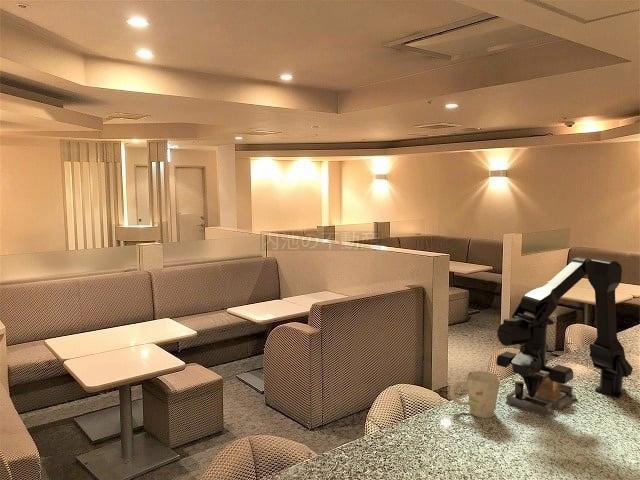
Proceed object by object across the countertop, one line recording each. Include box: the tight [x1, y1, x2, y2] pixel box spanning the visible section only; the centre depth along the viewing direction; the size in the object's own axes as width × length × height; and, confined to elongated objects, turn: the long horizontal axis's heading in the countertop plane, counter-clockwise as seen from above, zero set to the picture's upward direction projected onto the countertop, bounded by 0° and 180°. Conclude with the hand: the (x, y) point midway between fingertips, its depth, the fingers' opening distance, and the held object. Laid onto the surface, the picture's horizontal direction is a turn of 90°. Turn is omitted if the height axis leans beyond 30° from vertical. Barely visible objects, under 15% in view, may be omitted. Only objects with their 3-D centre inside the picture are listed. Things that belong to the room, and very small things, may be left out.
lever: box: [512, 380, 525, 400], centre depth 138 cm, size 2×3×5 cm
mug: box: [449, 370, 501, 419], centre depth 132 cm, size 8×13×10 cm, turn 78°
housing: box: [536, 377, 561, 399], centre depth 142 cm, size 6×6×6 cm
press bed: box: [523, 383, 577, 411], centre depth 142 cm, size 11×12×3 cm
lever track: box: [505, 390, 554, 417], centre depth 136 cm, size 4×11×2 cm, turn 43°
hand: (531, 397), depth 135 cm, fingers closed
